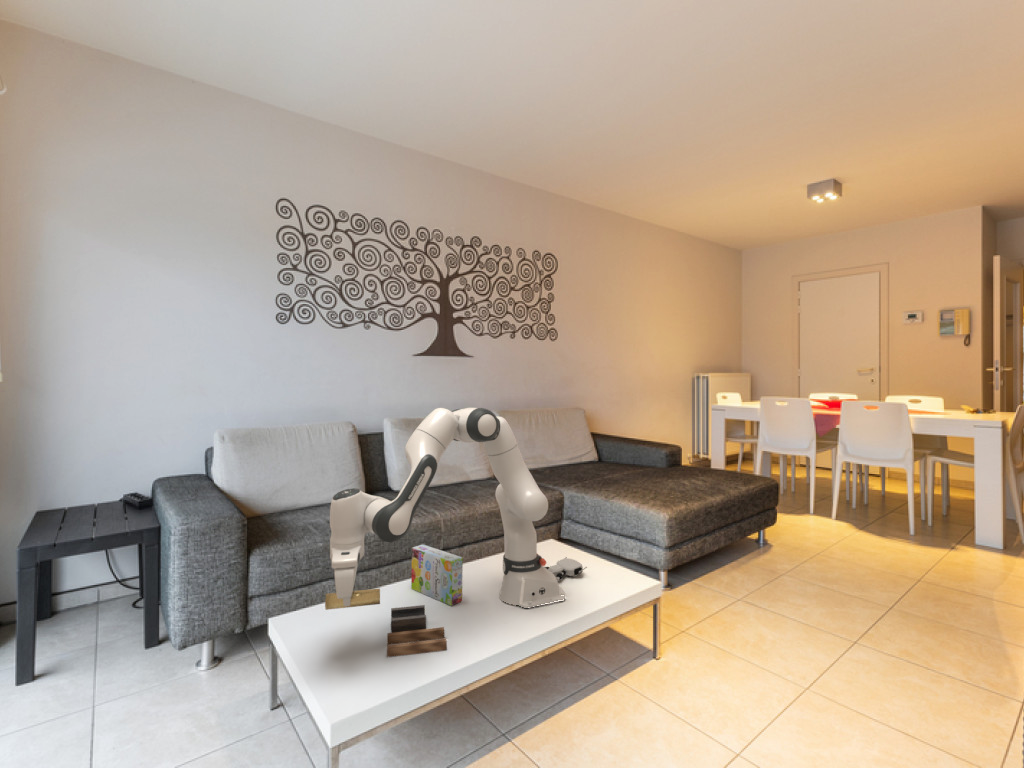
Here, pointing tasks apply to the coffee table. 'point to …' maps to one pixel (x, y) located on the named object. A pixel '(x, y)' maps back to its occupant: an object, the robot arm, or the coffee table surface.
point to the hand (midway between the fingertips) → (348, 600)
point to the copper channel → (416, 646)
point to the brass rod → (354, 599)
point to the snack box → (437, 574)
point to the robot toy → (566, 568)
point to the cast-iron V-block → (408, 618)
